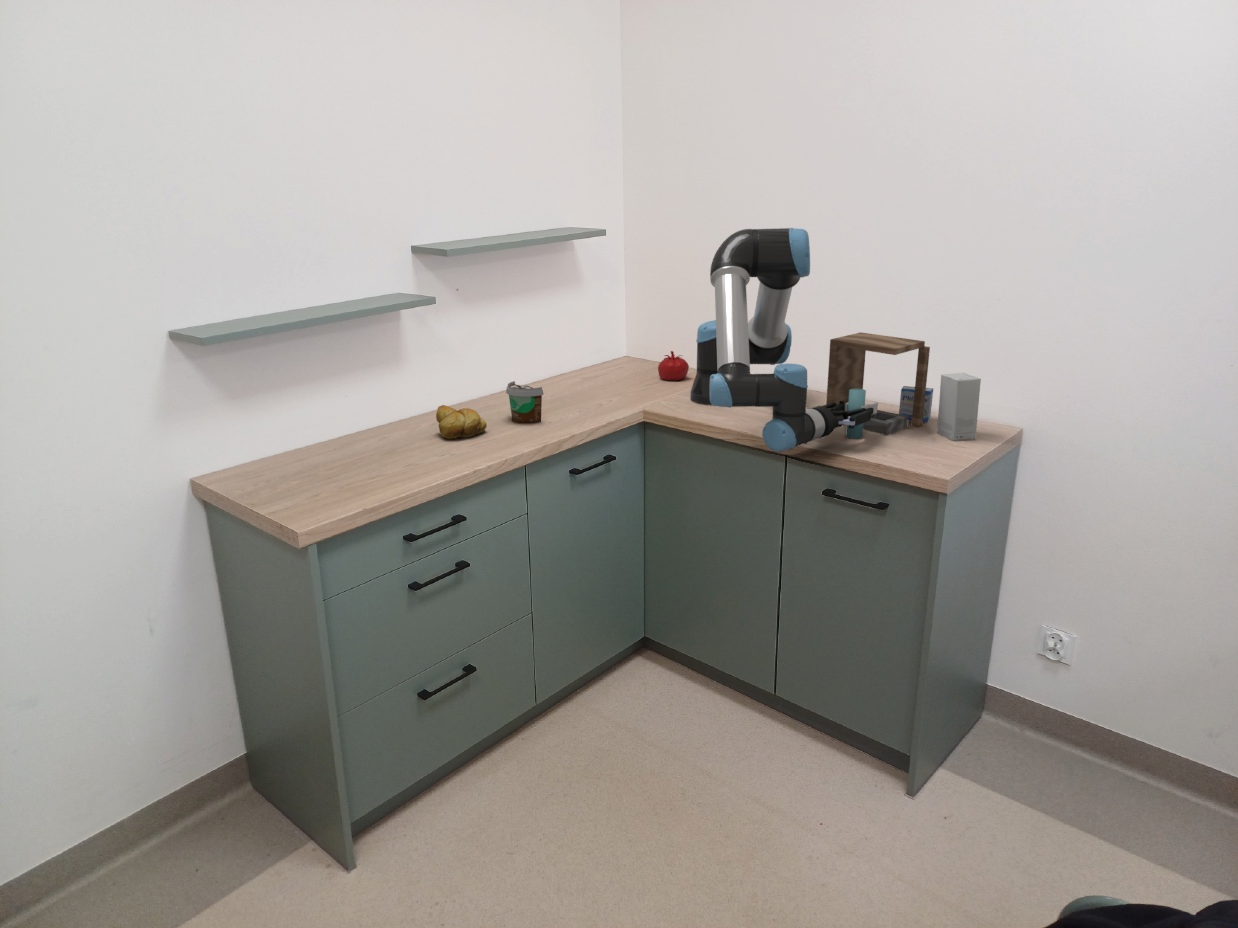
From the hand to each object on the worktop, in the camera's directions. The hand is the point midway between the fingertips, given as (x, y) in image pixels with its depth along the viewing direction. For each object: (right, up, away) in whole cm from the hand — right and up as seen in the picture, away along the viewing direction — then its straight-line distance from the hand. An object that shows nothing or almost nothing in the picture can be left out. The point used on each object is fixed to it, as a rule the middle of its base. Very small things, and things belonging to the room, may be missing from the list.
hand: (868, 405), depth 223 cm
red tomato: (-46, +13, +64) cm, 79 cm away
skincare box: (+21, -8, -2) cm, 23 cm away
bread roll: (-105, -8, +6) cm, 105 cm away
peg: (-4, -8, -1) cm, 9 cm away
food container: (-91, -3, +18) cm, 93 cm away
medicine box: (+16, -3, +14) cm, 21 cm away
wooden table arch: (+4, -4, +10) cm, 11 cm away
